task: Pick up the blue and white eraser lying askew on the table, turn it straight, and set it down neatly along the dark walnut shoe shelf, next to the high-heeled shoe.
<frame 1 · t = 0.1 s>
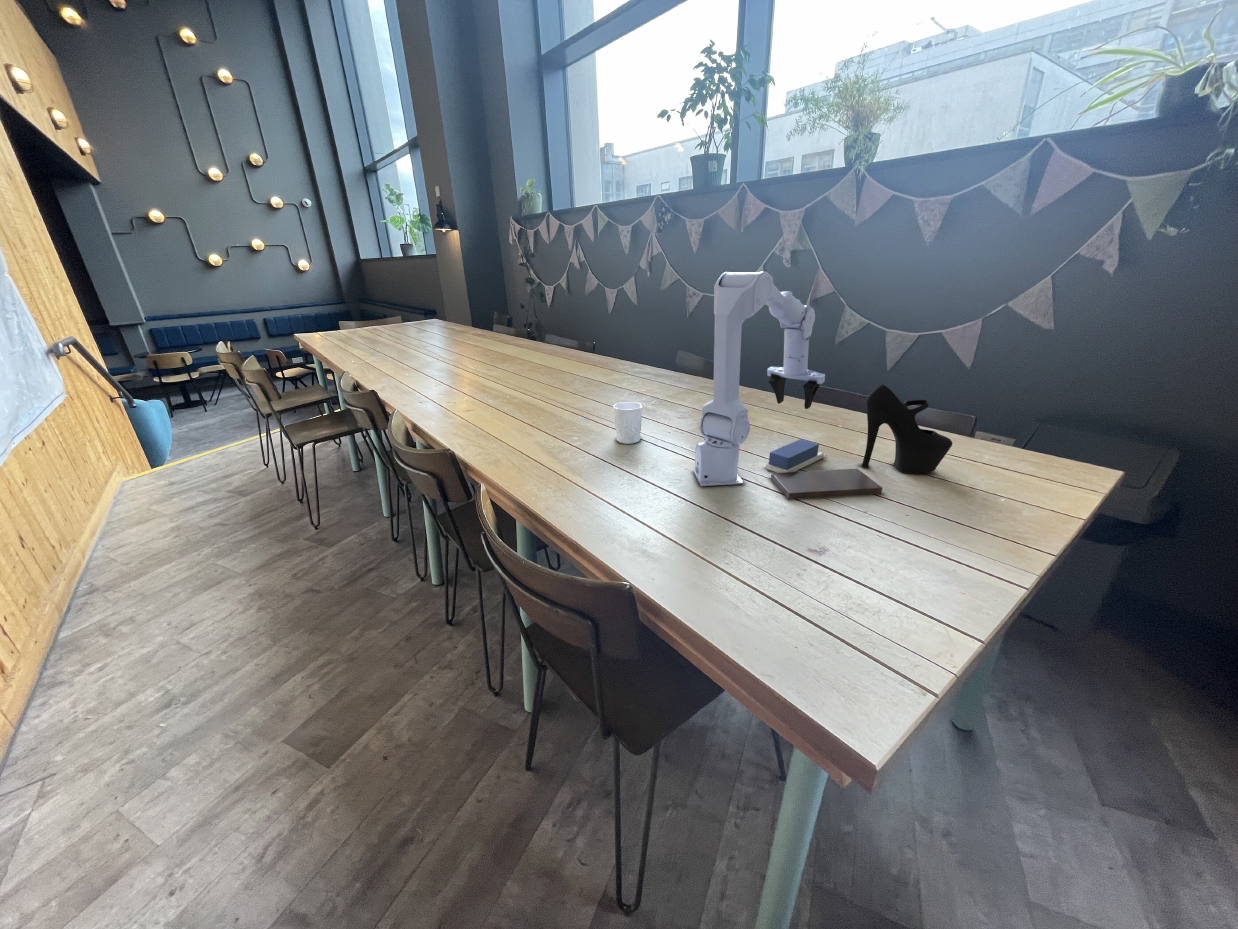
hand: (793, 404, 123), 10 cm above the table, tool pointing down, fingers open, 7 cm apart
high-heeled shoe: (897, 468, 110), on the table
blue and white eraser: (795, 463, 114), on the table
shoe shelf: (823, 486, 103), on the table
white cup: (628, 440, 133), on the table
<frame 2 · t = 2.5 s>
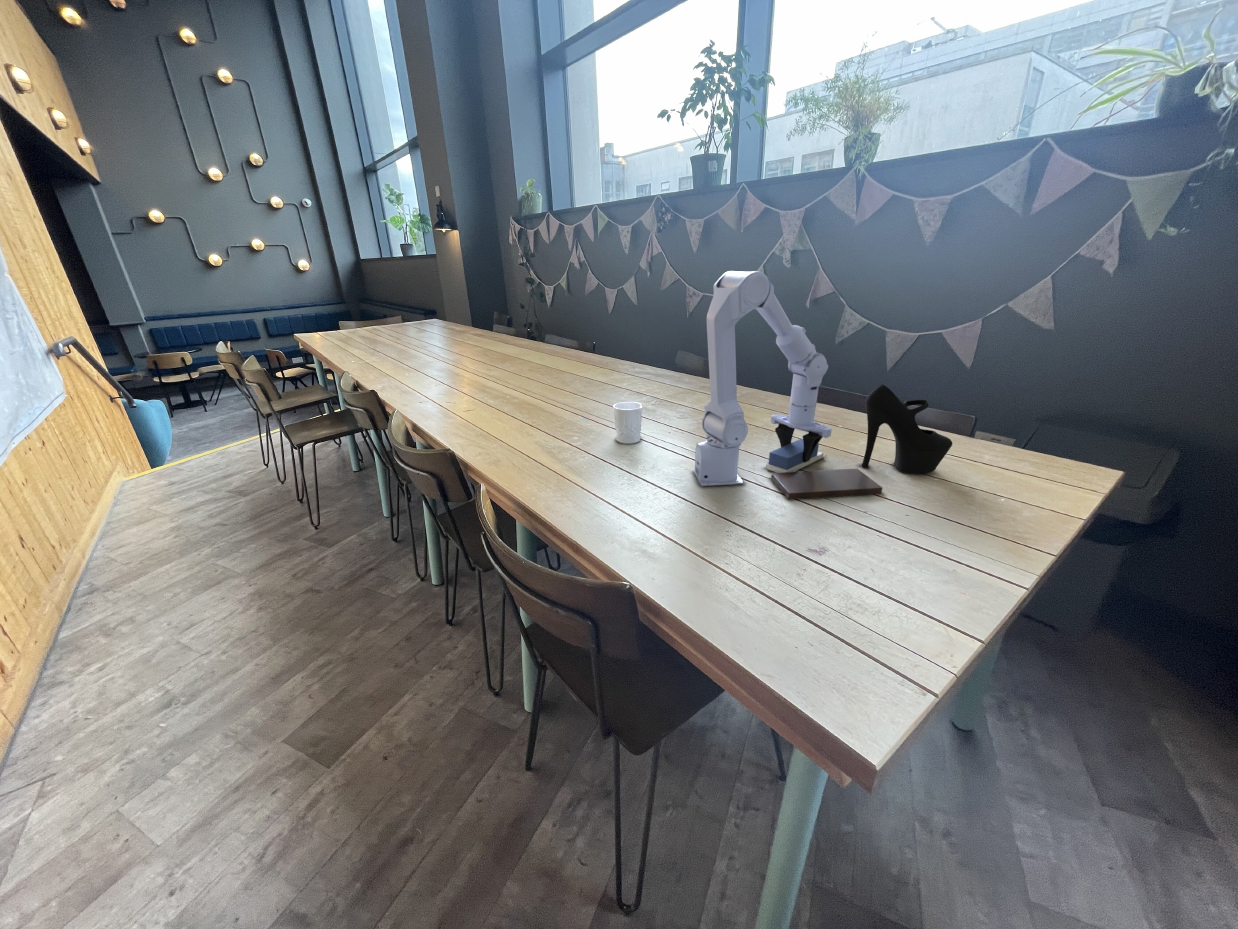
hand: (795, 457, 114), 1 cm above the table, tool pointing down, fingers closed on blue and white eraser, 5 cm apart
blue and white eraser: (794, 463, 114), on the table, touching gripper
everything else where it was.
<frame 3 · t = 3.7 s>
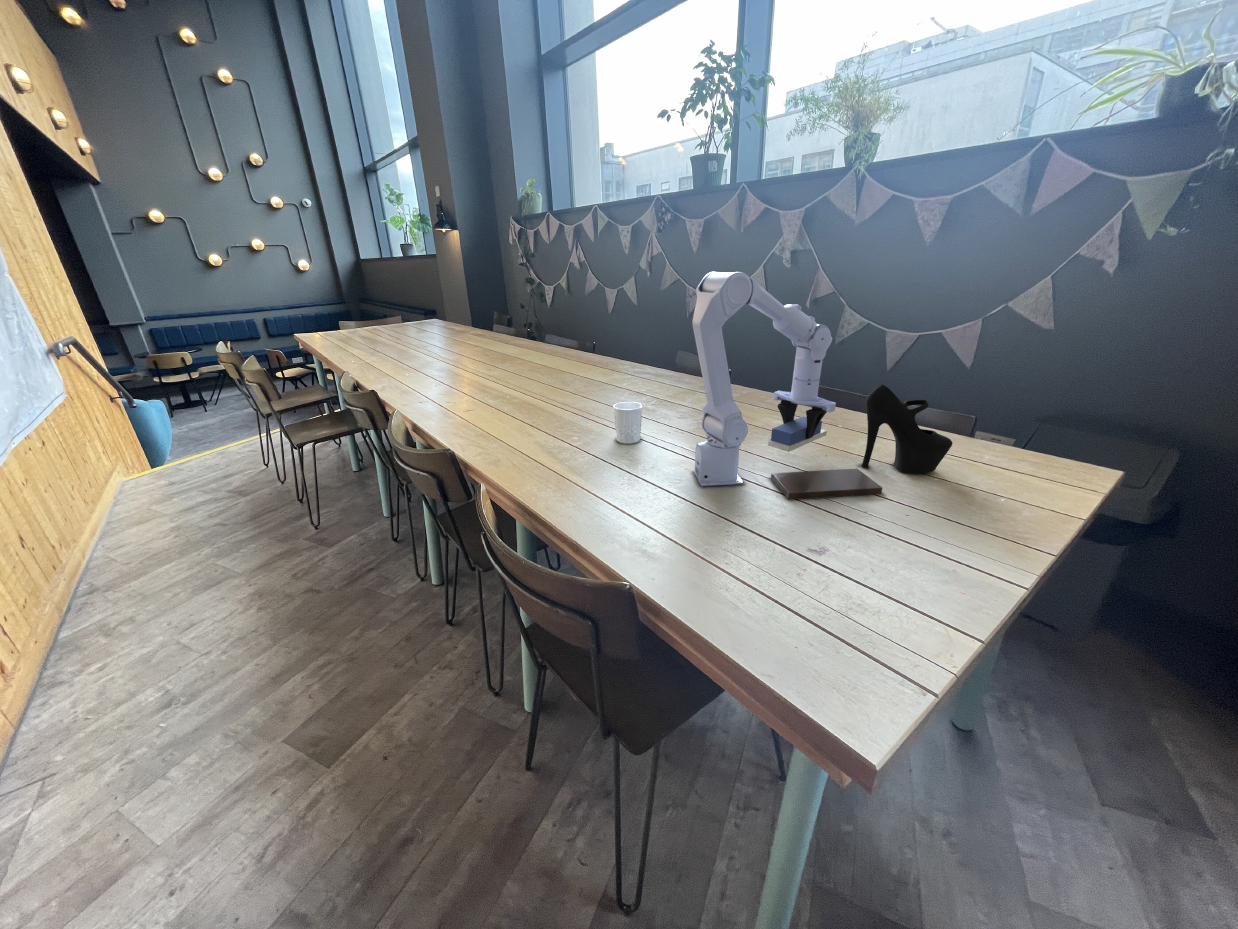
hand: (798, 434, 111), 7 cm above the table, tool pointing down, fingers closed on blue and white eraser, 5 cm apart
blue and white eraser: (797, 440, 112), point 6 cm above the table, touching gripper
everything else where it was.
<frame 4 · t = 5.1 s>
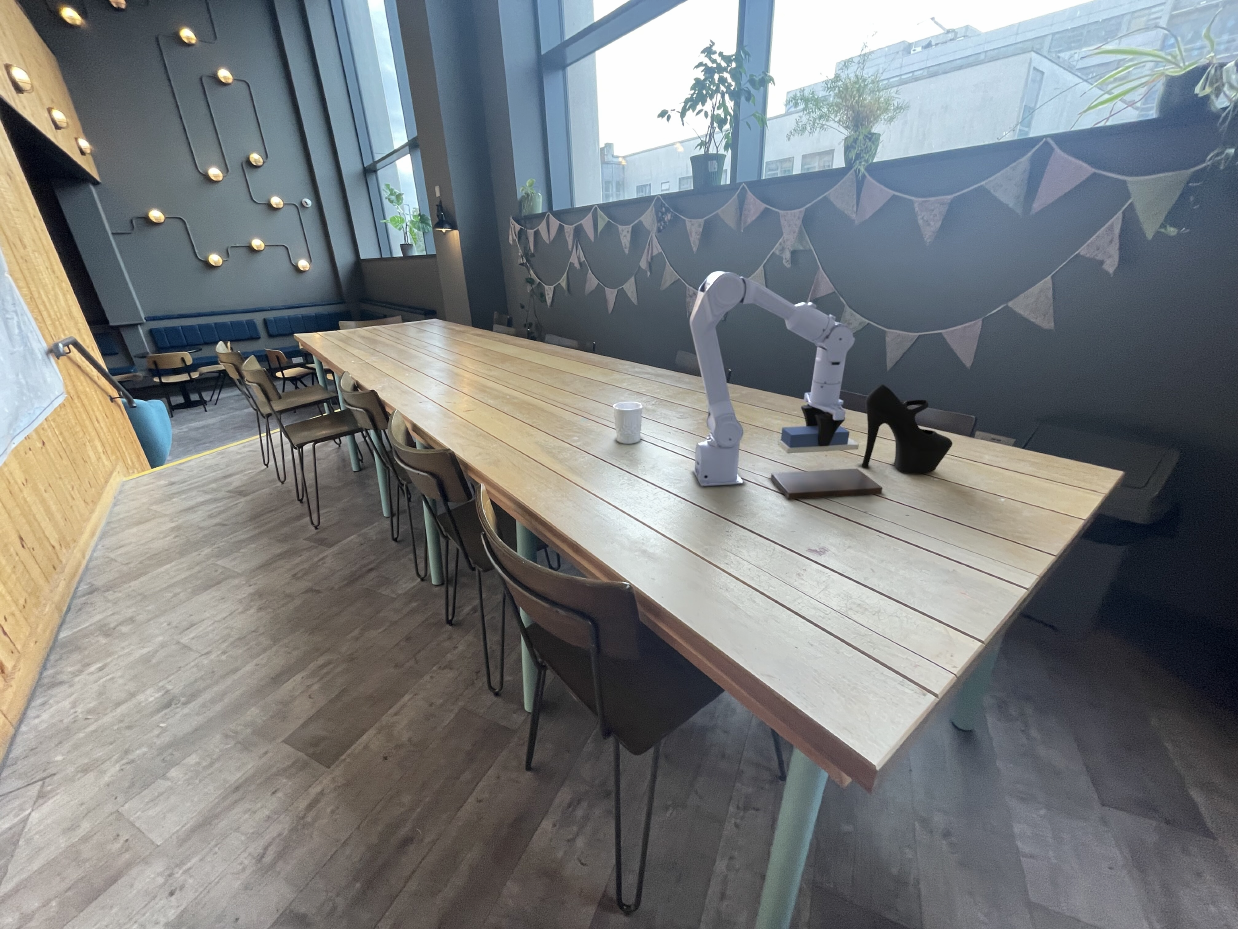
hand: (818, 441, 104), 8 cm above the table, tool pointing down, fingers closed on blue and white eraser, 5 cm apart
blue and white eraser: (817, 446, 105), point 7 cm above the table, touching gripper
everything else where it was.
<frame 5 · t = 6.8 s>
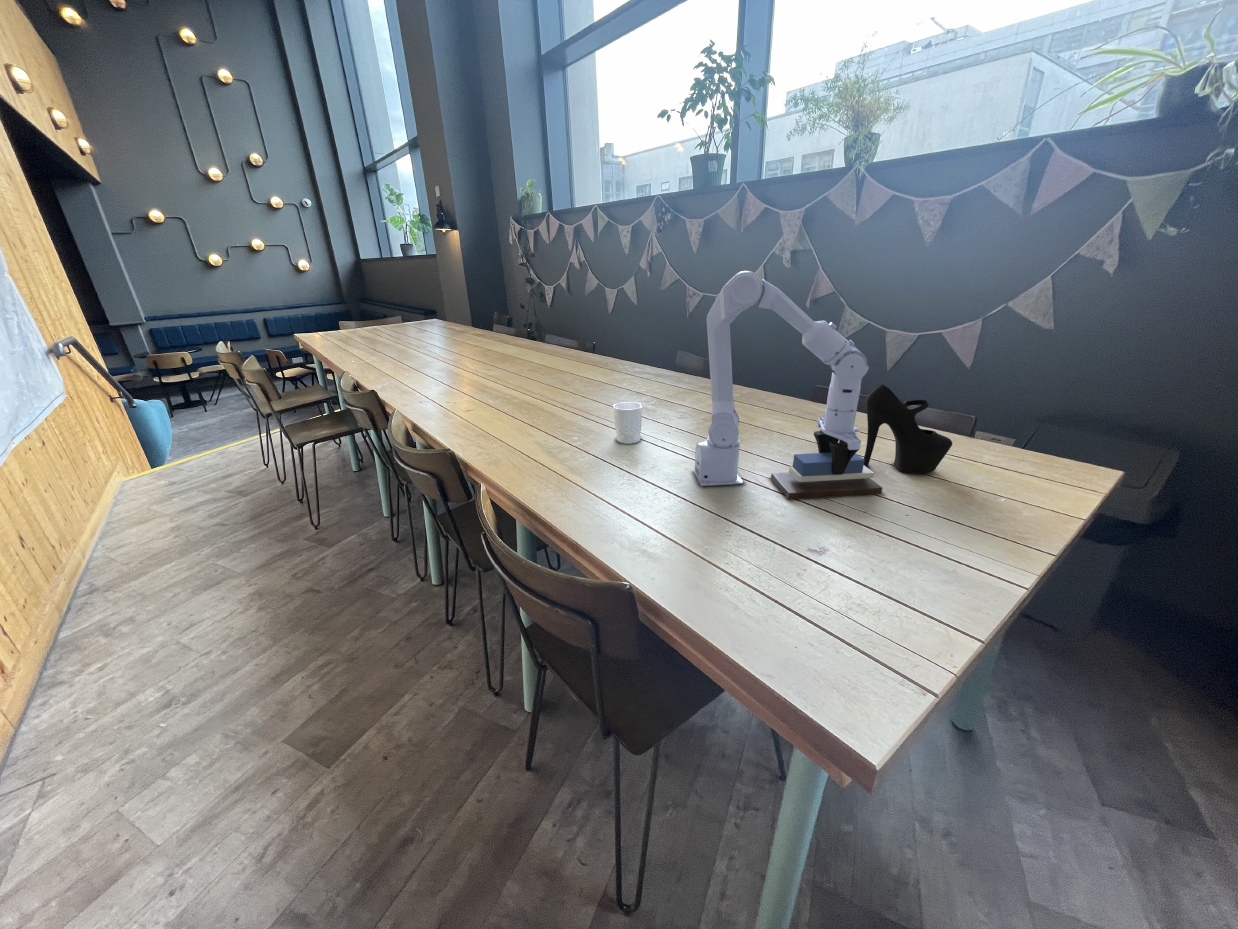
hand: (831, 468, 101), 4 cm above the table, tool pointing down, fingers closed on blue and white eraser, 5 cm apart
blue and white eraser: (830, 474, 102), point 3 cm above the table, touching gripper
everything else where it was.
when the fingers open (3 cm above the table, at t = 7.8 s): blue and white eraser stays where it is, resting on shoe shelf.
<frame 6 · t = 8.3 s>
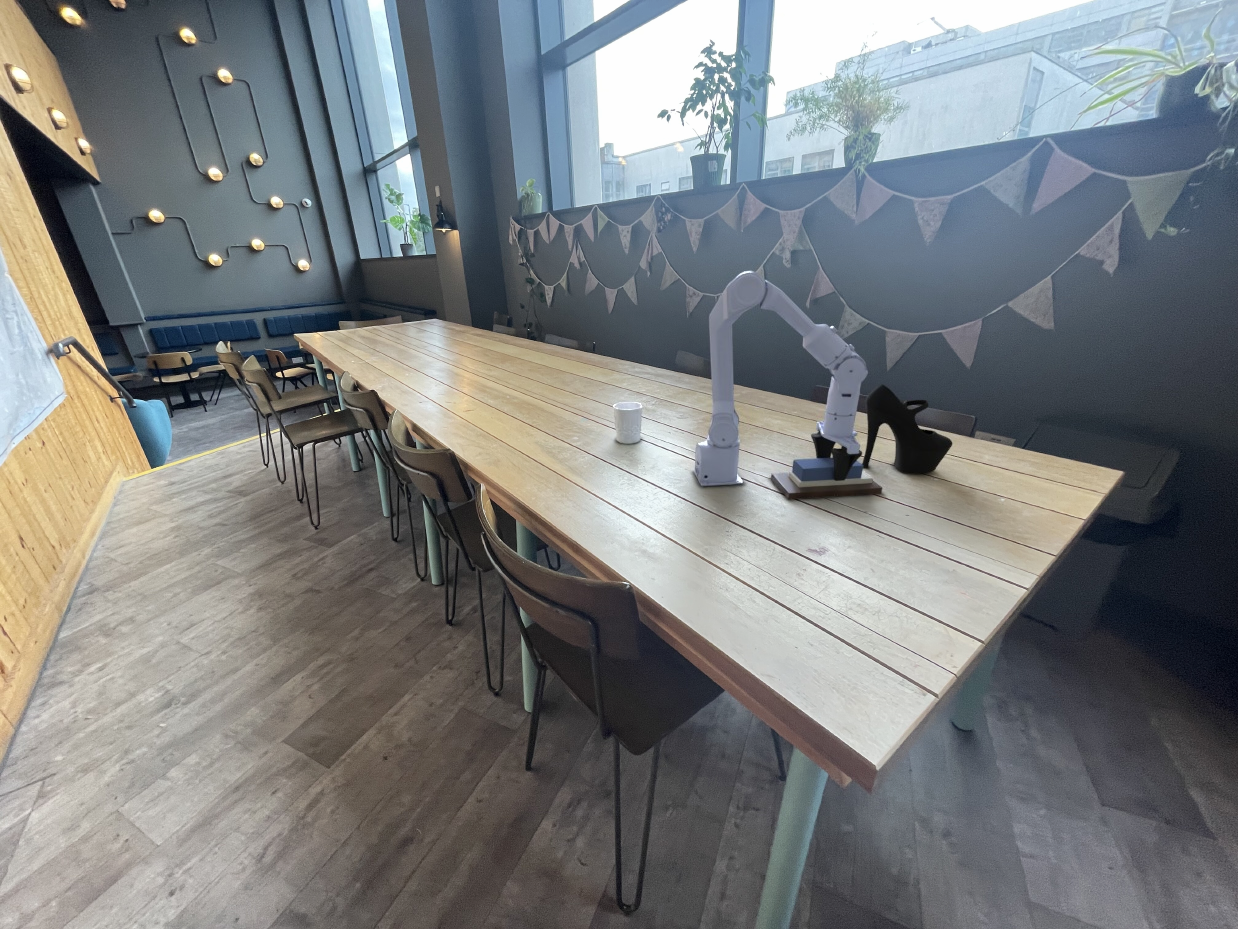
hand: (830, 472, 101), 3 cm above the table, tool pointing down, fingers open, 7 cm apart
blue and white eraser: (829, 479, 102), point 1 cm above the table, touching shoe shelf
everything else where it was.
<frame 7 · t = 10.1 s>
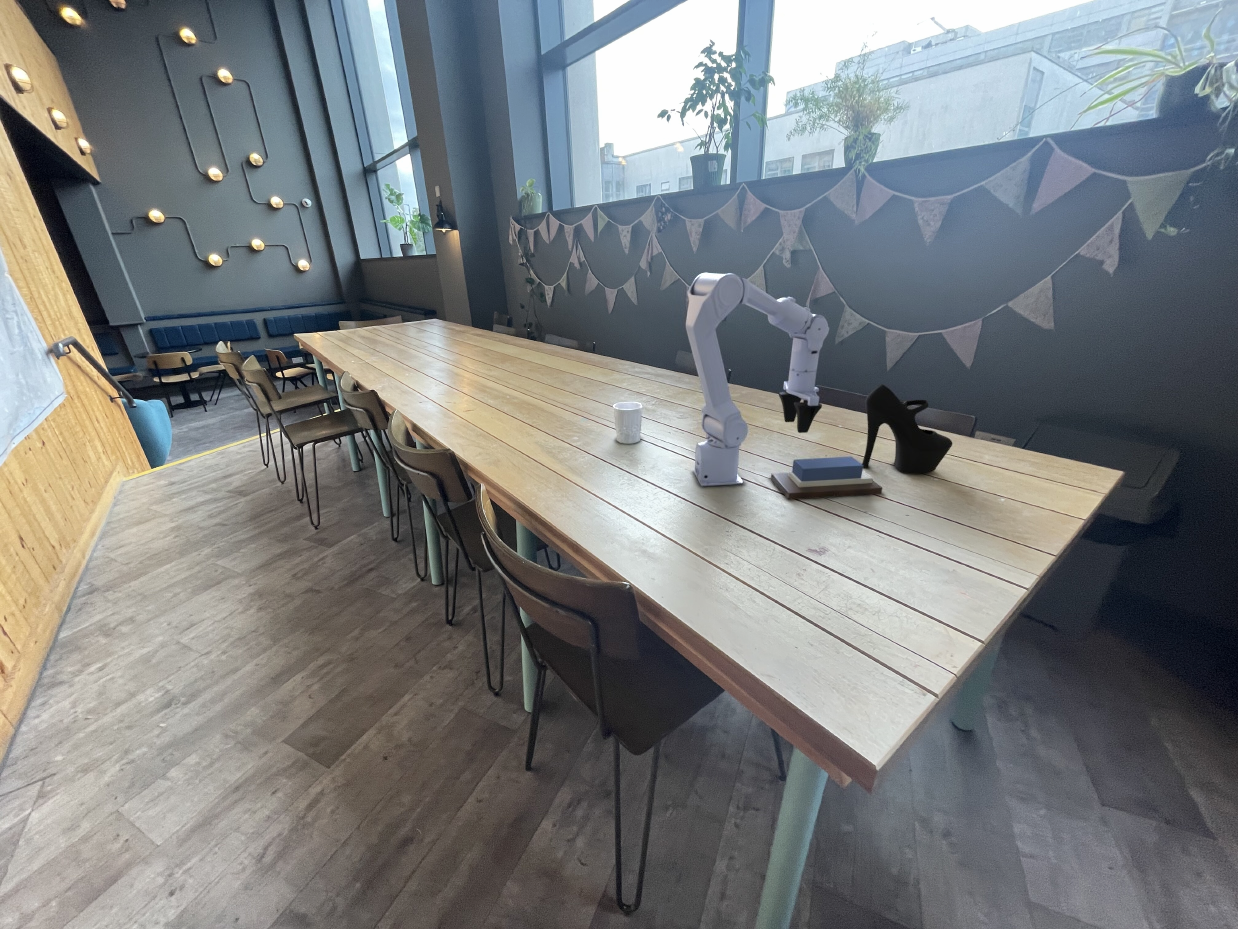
hand: (795, 426, 111), 9 cm above the table, tool pointing down, fingers open, 7 cm apart
nothing on the table moved.
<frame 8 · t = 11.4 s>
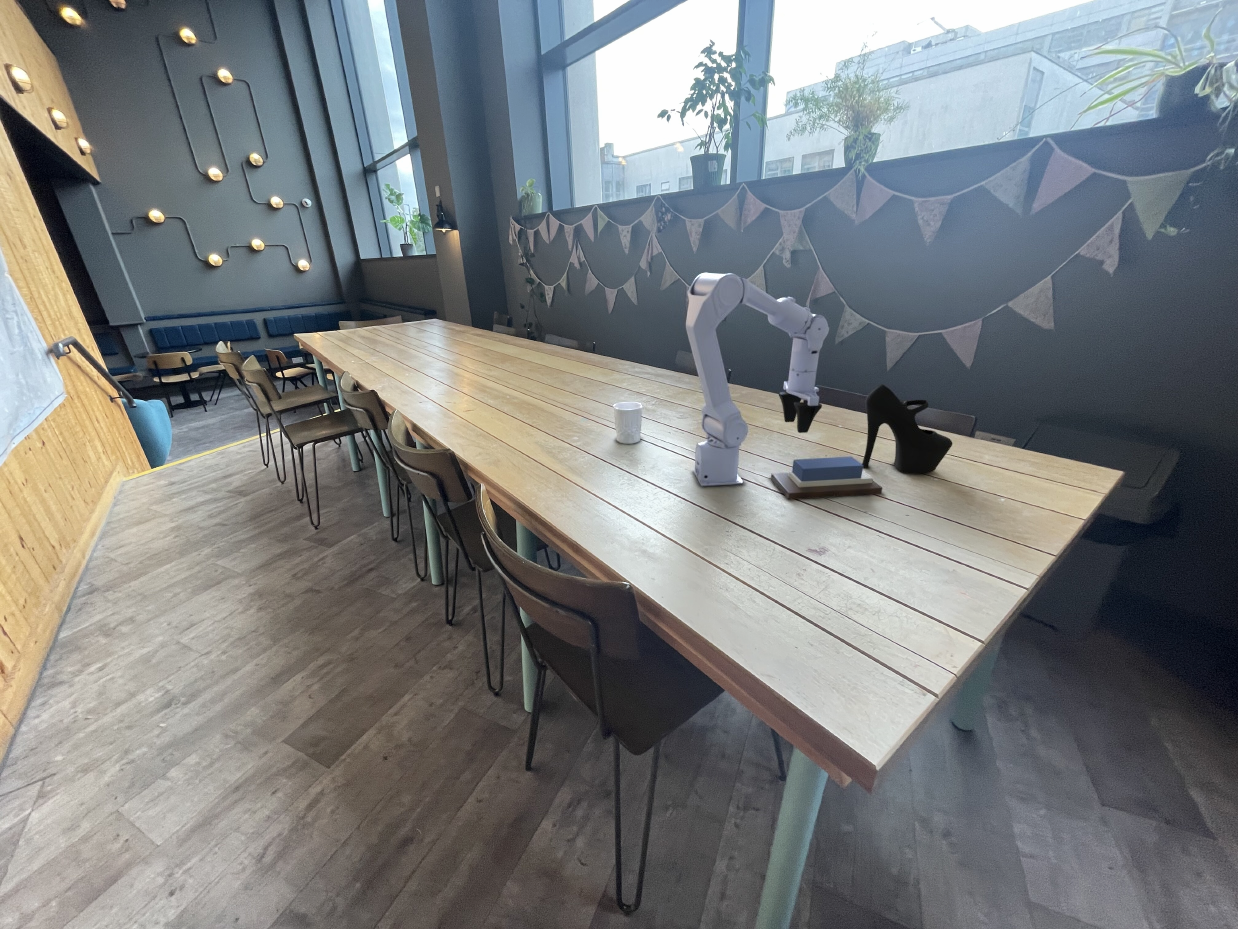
hand: (795, 426, 111), 9 cm above the table, tool pointing down, fingers open, 7 cm apart
nothing on the table moved.
at the end: blue and white eraser 1.1 cm off-centre on the shoe shelf, point 1.5 cm above the shoe shelf's base; blue and white eraser tilted 0°; the gripper is holding nothing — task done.
